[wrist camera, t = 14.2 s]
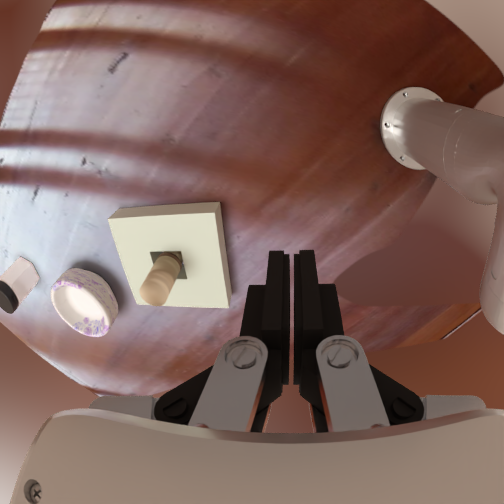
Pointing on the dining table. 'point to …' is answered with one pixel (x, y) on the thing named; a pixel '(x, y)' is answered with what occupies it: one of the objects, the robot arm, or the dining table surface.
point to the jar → (17, 284)
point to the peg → (161, 278)
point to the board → (176, 239)
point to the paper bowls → (85, 302)
